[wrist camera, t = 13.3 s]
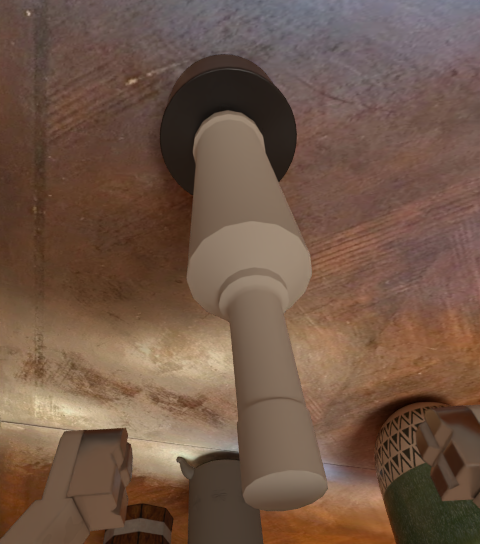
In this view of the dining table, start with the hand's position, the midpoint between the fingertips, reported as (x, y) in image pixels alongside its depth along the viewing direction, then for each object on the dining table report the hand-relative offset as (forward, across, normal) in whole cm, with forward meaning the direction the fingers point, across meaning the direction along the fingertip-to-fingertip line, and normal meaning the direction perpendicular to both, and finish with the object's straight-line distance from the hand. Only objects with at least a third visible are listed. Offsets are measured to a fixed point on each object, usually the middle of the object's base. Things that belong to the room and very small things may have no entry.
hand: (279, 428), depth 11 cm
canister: (+30, 0, 0) cm, 30 cm away
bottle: (+24, 0, 0) cm, 24 cm away
